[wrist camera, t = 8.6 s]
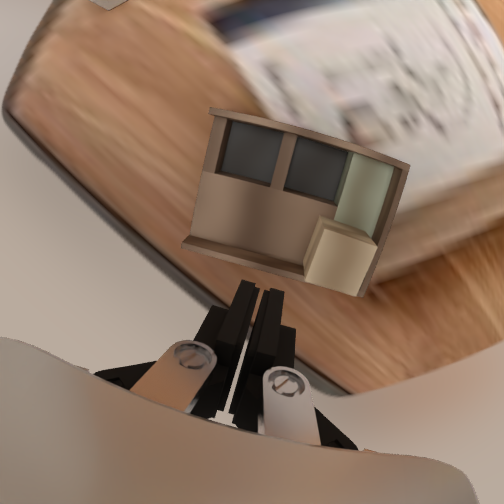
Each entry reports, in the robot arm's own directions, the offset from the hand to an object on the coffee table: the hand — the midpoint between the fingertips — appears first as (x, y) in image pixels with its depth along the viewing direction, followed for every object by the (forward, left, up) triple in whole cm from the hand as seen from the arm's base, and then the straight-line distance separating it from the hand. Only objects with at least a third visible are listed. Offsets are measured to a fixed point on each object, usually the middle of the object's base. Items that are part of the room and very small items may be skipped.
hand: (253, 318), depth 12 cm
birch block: (-5, 0, -14) cm, 15 cm away
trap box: (-1, -2, -16) cm, 16 cm away
